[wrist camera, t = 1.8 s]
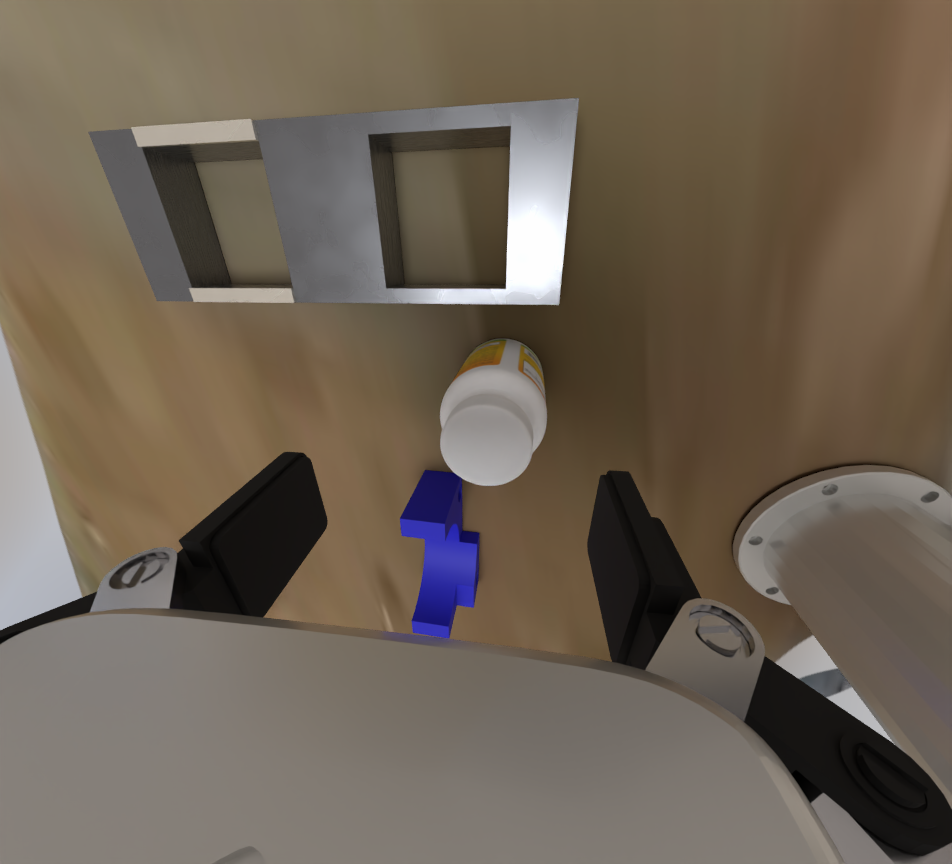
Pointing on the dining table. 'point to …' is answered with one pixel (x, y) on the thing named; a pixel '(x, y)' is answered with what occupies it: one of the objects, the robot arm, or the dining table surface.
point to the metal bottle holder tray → (341, 200)
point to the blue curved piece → (441, 552)
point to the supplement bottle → (494, 413)
